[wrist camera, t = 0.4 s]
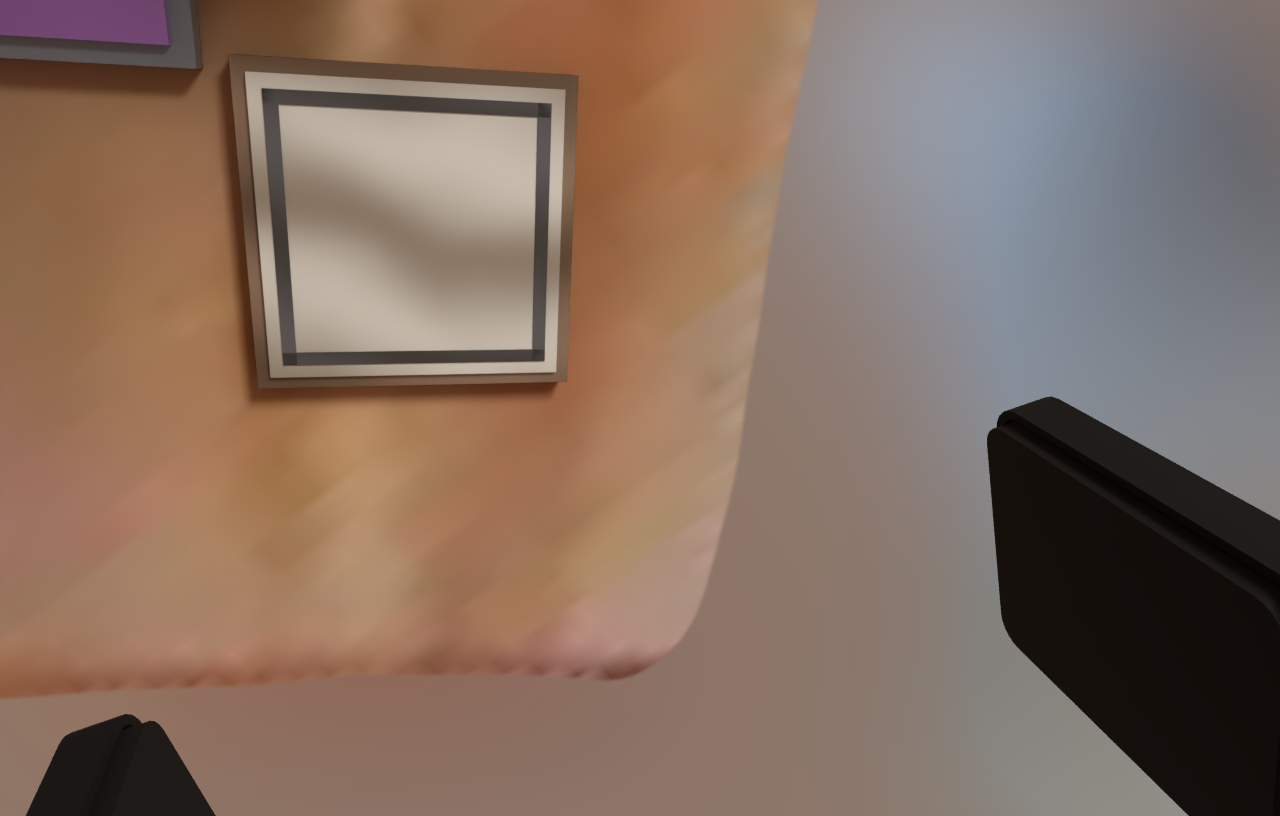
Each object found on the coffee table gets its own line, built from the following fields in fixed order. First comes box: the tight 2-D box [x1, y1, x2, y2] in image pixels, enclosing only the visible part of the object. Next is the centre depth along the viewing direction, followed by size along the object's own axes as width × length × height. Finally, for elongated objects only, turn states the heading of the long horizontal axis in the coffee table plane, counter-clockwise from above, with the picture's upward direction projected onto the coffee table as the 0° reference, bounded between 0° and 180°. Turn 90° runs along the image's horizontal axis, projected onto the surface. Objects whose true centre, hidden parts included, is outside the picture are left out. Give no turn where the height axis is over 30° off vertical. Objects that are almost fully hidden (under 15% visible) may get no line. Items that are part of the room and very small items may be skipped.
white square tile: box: [228, 54, 578, 389], centre depth 35 cm, size 12×12×1 cm
